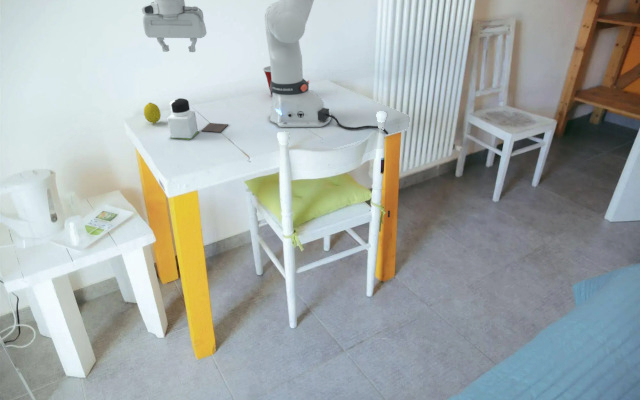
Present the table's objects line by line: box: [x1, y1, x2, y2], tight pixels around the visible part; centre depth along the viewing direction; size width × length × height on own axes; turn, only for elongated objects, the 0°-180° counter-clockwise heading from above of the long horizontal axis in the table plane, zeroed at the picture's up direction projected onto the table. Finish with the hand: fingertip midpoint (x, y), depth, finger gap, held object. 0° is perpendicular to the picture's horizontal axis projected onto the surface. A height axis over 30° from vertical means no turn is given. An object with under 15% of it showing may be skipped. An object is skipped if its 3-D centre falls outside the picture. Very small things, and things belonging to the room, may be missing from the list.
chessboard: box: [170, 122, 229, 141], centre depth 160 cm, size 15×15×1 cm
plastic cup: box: [262, 65, 271, 93], centre depth 189 cm, size 11×11×12 cm
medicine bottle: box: [166, 97, 199, 139], centre depth 155 cm, size 7×7×12 cm
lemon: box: [143, 102, 162, 125], centre depth 166 cm, size 6×6×8 cm
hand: (179, 51), depth 152 cm, fingers open, 8 cm apart
